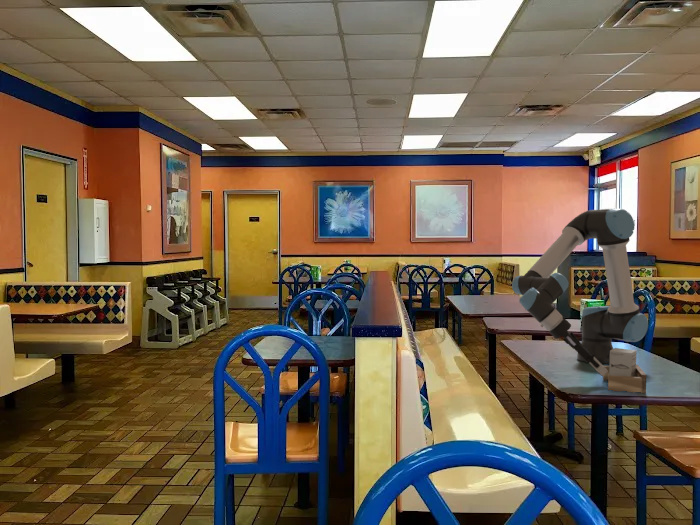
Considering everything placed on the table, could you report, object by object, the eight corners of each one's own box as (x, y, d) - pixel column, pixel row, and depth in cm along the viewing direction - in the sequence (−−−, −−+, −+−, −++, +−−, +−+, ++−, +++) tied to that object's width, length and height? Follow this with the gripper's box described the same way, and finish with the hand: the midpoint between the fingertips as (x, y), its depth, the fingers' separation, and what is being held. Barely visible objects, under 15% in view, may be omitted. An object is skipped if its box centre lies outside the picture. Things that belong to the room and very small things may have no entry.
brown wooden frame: (603, 379, 213) (603, 362, 213) (637, 381, 210) (637, 364, 209) (608, 390, 197) (608, 372, 197) (645, 393, 194) (646, 374, 193)
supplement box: (608, 386, 203) (608, 350, 203) (614, 381, 209) (614, 347, 209) (630, 389, 199) (631, 353, 198) (636, 385, 204) (637, 349, 204)
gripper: (547, 328, 217) (595, 376, 212) (548, 334, 204) (598, 384, 200) (562, 315, 215) (611, 362, 210) (564, 319, 202) (615, 370, 198)
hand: (605, 373), depth 205 cm, fingers closed
